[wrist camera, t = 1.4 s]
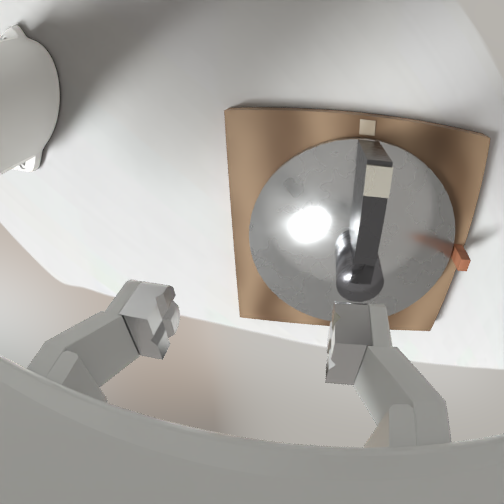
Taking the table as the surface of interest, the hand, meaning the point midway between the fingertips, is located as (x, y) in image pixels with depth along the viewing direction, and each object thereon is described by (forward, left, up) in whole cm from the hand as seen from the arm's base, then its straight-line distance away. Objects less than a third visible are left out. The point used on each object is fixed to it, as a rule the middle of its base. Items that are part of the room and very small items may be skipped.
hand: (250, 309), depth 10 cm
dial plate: (+5, -8, -19) cm, 22 cm away
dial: (+6, -8, -17) cm, 20 cm away
